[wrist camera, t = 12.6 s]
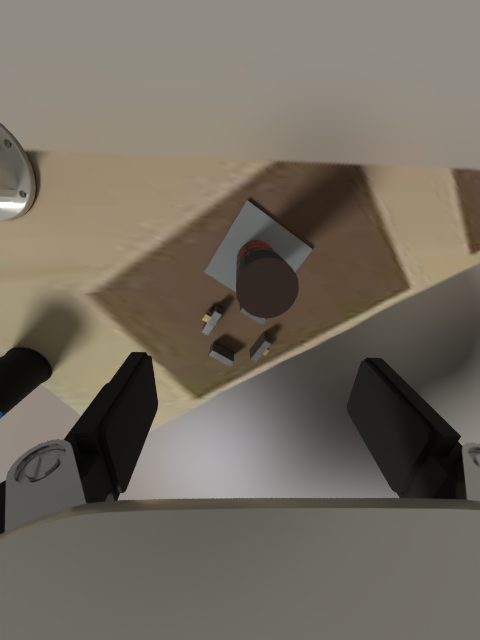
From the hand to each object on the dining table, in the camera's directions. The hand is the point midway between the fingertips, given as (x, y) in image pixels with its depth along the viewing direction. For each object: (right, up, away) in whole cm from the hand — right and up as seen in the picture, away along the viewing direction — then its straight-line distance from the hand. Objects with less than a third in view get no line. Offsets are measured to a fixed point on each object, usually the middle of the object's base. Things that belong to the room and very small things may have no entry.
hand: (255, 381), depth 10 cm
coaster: (+2, +12, +25) cm, 28 cm away
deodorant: (+2, +12, +25) cm, 28 cm away
